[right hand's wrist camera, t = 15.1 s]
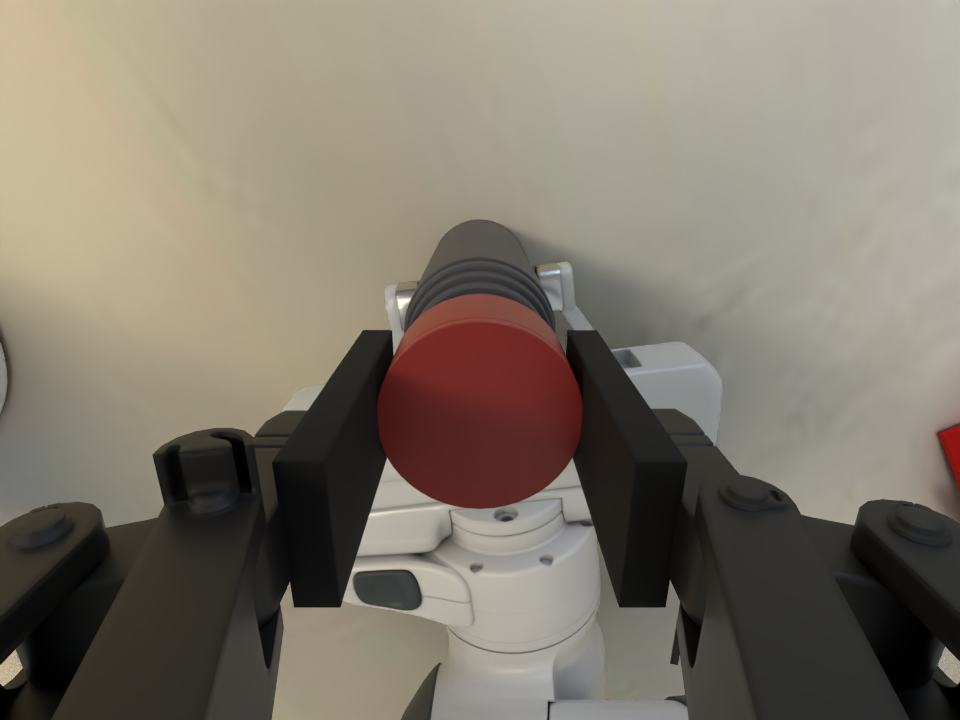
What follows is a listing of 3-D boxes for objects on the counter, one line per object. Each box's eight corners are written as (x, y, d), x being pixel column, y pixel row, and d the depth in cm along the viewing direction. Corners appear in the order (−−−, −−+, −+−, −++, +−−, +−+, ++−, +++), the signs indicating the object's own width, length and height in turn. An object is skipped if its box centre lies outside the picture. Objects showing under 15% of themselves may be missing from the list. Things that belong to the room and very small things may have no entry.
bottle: (541, 242, 29) (631, 357, 12) (503, 326, 31) (535, 534, 13) (453, 204, 28) (413, 268, 11) (419, 292, 30) (339, 466, 13)
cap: (597, 333, 14) (621, 369, 11) (523, 476, 15) (531, 534, 13) (429, 264, 13) (418, 288, 11) (369, 420, 15) (348, 470, 12)
